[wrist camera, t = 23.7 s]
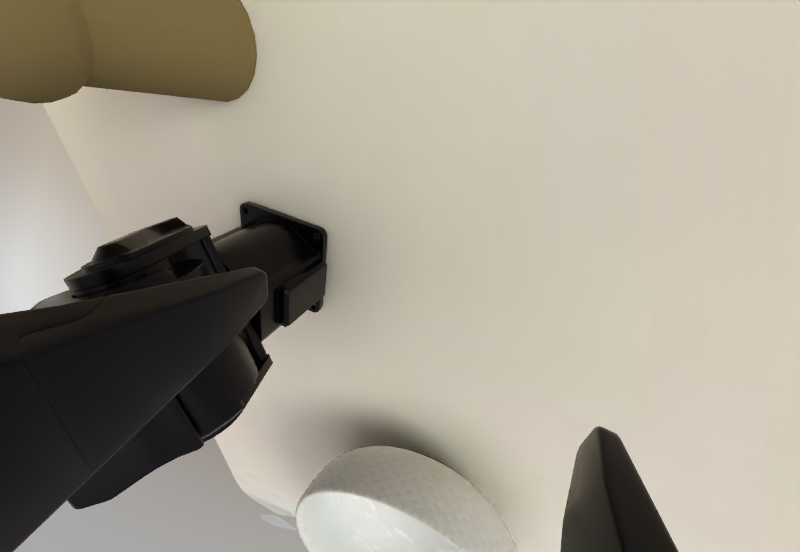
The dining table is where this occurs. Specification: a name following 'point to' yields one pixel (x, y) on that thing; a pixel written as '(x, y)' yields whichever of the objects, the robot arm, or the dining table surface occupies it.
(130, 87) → the cork
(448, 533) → the cereal bowl
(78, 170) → the dining table surface
